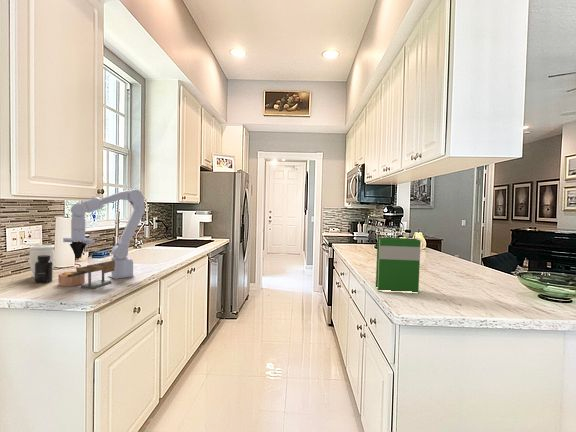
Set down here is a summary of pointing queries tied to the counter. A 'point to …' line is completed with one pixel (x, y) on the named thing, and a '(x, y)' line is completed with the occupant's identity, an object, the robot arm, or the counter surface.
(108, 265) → the brown tray
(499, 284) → the counter surface
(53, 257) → the white tapered cylinder
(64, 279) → the cup
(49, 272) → the supplement bottle
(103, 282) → the trough stand
